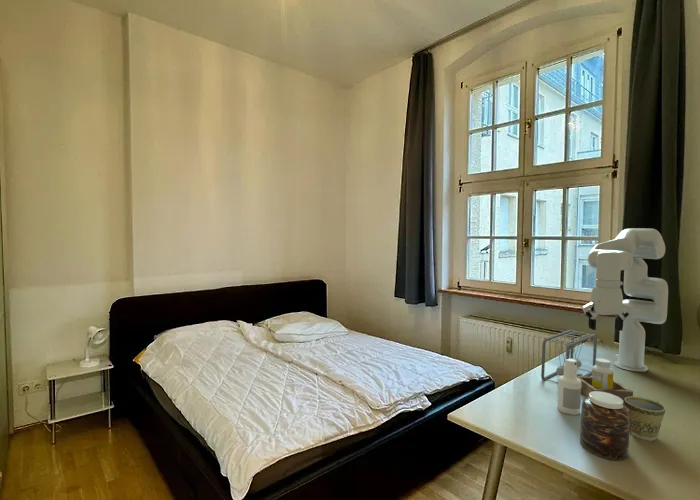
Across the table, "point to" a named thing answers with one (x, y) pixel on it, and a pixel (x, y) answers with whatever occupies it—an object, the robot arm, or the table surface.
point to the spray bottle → (569, 389)
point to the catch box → (617, 389)
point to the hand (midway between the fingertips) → (605, 329)
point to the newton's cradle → (568, 352)
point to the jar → (605, 426)
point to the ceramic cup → (644, 417)
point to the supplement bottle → (602, 375)
